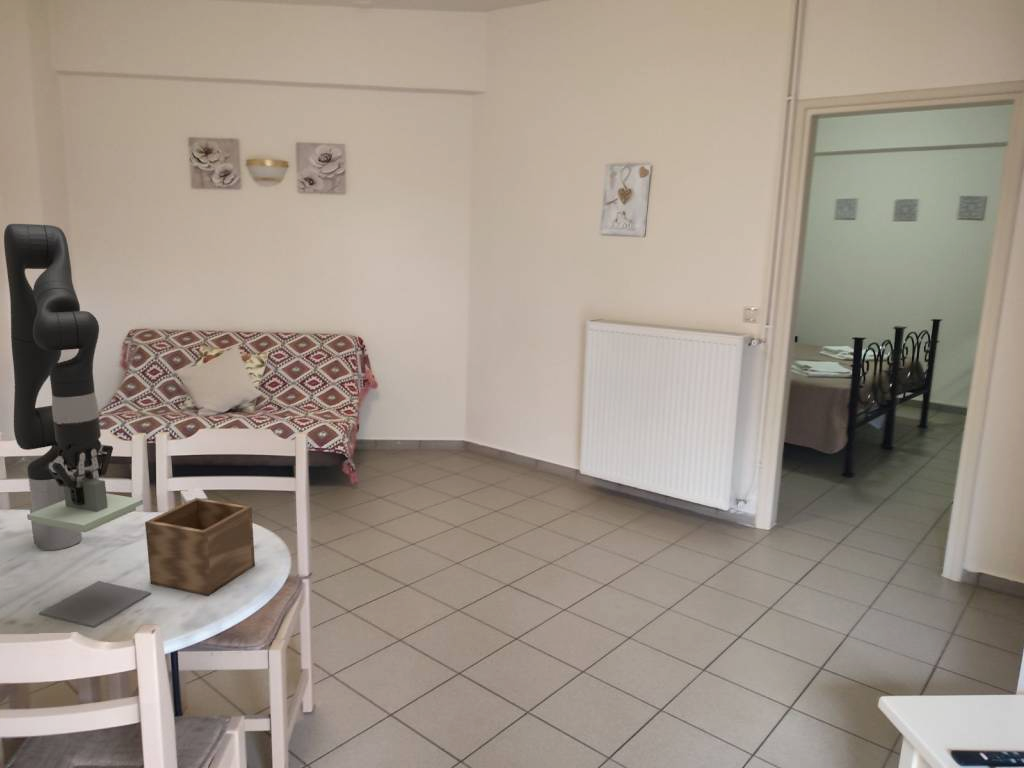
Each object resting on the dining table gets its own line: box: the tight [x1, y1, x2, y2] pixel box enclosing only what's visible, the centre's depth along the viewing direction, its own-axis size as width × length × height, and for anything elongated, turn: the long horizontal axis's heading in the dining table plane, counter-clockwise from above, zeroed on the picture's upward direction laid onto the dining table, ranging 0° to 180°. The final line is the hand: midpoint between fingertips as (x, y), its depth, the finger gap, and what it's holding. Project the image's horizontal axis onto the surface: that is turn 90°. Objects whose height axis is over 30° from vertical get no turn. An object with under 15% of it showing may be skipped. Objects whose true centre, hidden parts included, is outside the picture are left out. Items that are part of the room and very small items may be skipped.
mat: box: [38, 580, 152, 629], centre depth 150 cm, size 14×14×1 cm
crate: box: [144, 498, 256, 597], centre depth 162 cm, size 15×15×14 cm
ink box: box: [180, 487, 209, 505], centre depth 180 cm, size 9×5×12 cm, turn 33°
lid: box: [26, 476, 144, 533], centre depth 145 cm, size 14×14×8 cm
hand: (85, 501), depth 146 cm, fingers closed on lid, 2 cm apart
